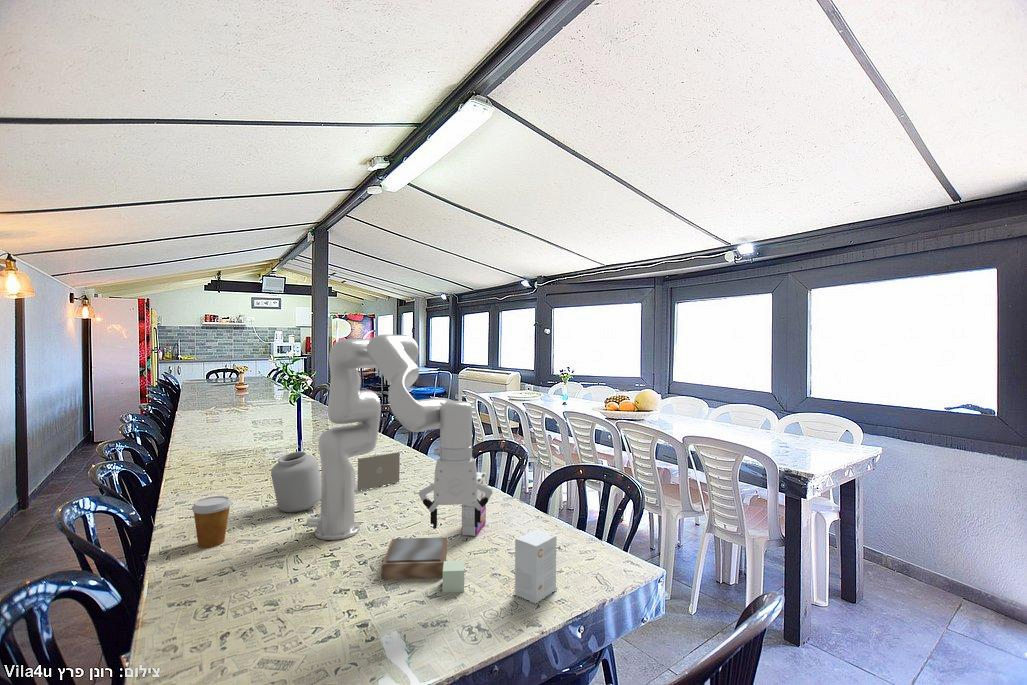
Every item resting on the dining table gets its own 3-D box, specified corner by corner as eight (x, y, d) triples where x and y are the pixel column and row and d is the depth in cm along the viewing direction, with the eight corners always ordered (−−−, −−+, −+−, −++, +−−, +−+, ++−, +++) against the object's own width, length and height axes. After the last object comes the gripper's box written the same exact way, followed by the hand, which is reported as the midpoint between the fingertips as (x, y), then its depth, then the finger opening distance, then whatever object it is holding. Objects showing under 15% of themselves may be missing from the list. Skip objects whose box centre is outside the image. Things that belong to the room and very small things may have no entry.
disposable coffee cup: (226, 533, 139) (226, 493, 139) (235, 543, 132) (235, 501, 132) (187, 542, 132) (188, 500, 132) (194, 553, 126) (195, 509, 126)
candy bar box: (471, 522, 151) (471, 471, 151) (486, 523, 150) (486, 472, 150) (460, 535, 140) (461, 480, 140) (476, 537, 139) (477, 482, 139)
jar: (277, 522, 148) (279, 443, 149) (255, 511, 157) (257, 437, 157) (331, 506, 164) (333, 434, 164) (309, 497, 172) (310, 429, 173)
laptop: (384, 477, 201) (385, 446, 201) (399, 483, 192) (400, 452, 192) (343, 485, 189) (344, 453, 189) (357, 492, 179) (358, 458, 179)
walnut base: (381, 579, 114) (382, 562, 114) (391, 551, 129) (392, 537, 129) (444, 577, 115) (444, 561, 115) (446, 550, 130) (447, 536, 130)
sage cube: (442, 592, 108) (442, 571, 108) (443, 581, 113) (443, 561, 113) (464, 592, 109) (464, 570, 109) (464, 581, 114) (464, 560, 114)
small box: (535, 581, 114) (536, 528, 114) (556, 590, 110) (557, 535, 110) (513, 594, 108) (514, 538, 108) (535, 605, 104) (536, 546, 104)
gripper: (417, 458, 106) (416, 533, 106) (493, 456, 108) (493, 531, 108) (420, 450, 114) (420, 521, 114) (491, 449, 116) (491, 519, 115)
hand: (455, 526), depth 111 cm, fingers open, 9 cm apart
